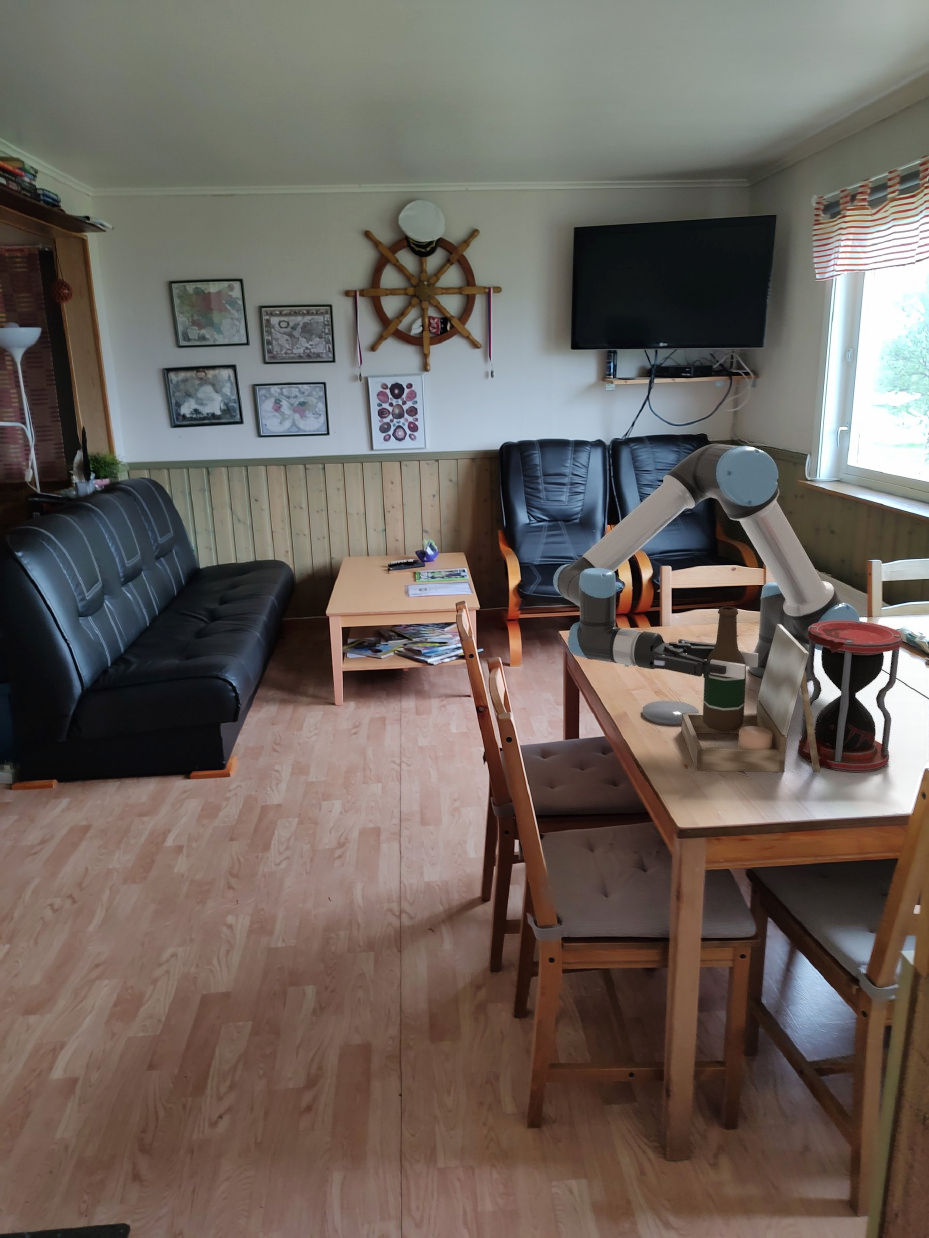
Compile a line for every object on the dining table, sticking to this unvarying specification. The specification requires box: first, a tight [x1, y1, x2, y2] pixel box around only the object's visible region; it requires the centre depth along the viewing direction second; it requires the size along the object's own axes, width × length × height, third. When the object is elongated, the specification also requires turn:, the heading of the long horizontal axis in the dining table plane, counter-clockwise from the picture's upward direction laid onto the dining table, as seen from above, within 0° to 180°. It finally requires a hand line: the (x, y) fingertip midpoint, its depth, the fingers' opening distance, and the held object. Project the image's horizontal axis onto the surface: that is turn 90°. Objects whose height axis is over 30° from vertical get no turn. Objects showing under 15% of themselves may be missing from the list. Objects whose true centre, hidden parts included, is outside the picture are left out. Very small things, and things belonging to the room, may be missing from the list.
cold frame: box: [680, 624, 821, 773], centre depth 165 cm, size 23×19×24 cm
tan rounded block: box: [737, 726, 772, 749], centre depth 163 cm, size 6×6×6 cm
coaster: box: [642, 700, 700, 726], centre depth 187 cm, size 12×12×1 cm
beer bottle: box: [702, 605, 747, 731], centre depth 167 cm, size 8×8×24 cm
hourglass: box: [797, 620, 903, 773], centre depth 162 cm, size 16×16×25 cm
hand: (751, 666), depth 164 cm, fingers closed on beer bottle, 7 cm apart
